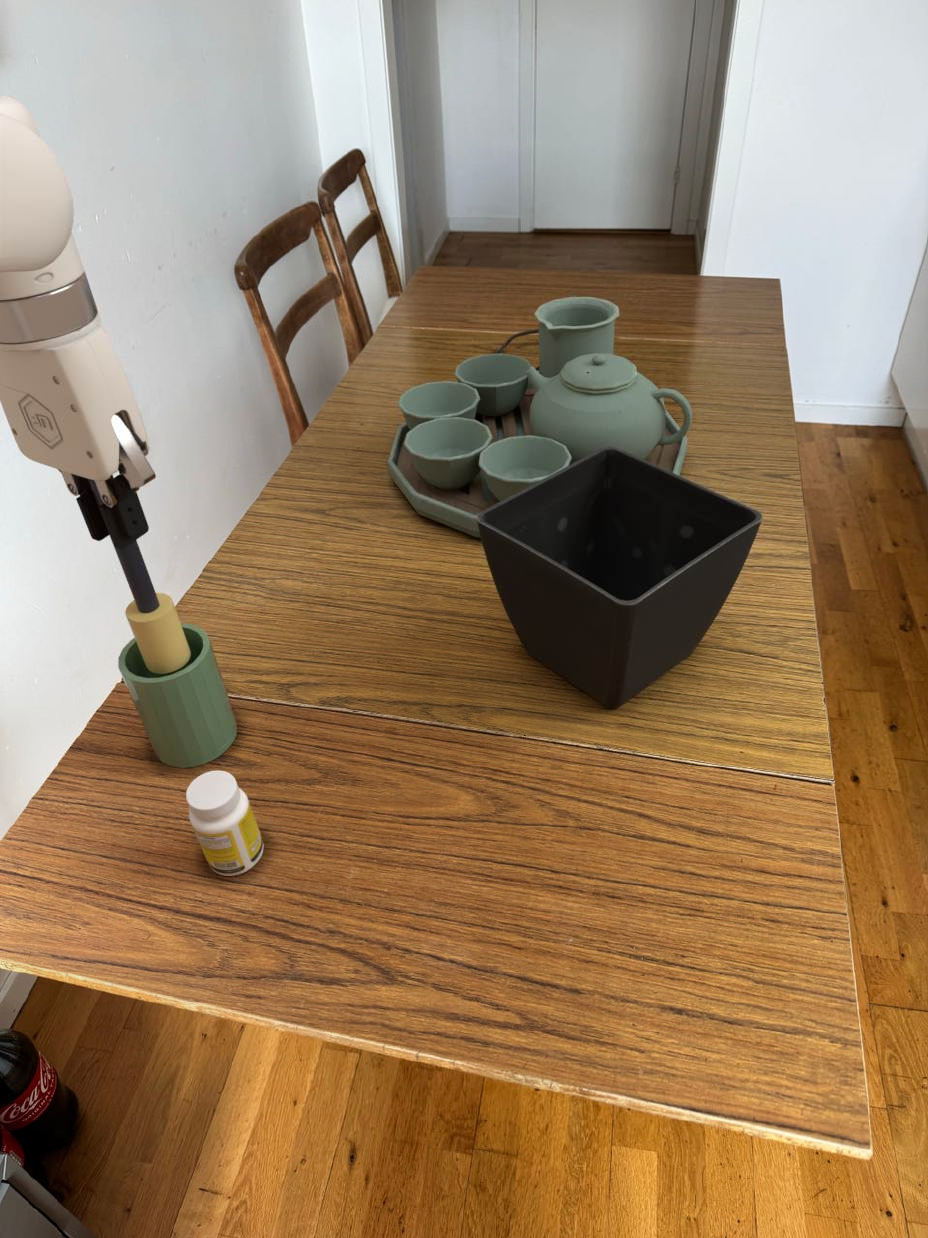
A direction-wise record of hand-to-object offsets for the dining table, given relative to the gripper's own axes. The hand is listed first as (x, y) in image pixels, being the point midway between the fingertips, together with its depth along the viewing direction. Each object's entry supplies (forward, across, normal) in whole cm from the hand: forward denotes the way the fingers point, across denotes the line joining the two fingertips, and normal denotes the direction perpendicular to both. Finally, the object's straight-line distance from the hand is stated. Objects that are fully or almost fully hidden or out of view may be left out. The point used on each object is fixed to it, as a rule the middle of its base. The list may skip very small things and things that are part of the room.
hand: (121, 534), depth 72 cm
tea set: (+24, +6, +60) cm, 65 cm away
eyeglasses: (+24, -8, +91) cm, 94 cm away
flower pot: (+24, +31, +29) cm, 48 cm away
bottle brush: (+14, 0, 0) cm, 14 cm away
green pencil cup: (+23, 0, 0) cm, 23 cm away
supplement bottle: (+24, +13, -9) cm, 28 cm away
